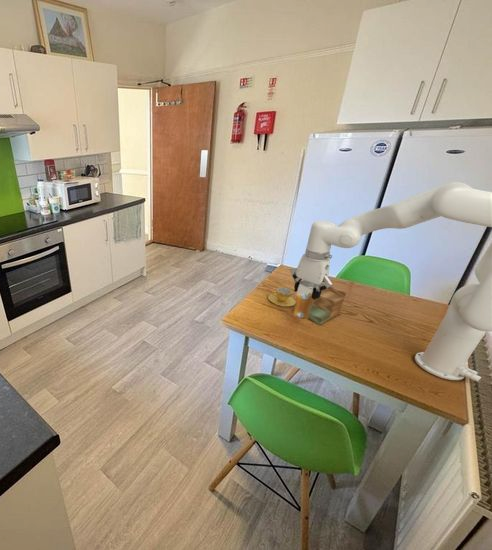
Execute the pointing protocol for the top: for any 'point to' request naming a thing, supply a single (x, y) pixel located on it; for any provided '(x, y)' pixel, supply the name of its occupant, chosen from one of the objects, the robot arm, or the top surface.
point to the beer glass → (304, 299)
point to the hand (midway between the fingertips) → (306, 294)
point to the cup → (282, 297)
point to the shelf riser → (326, 305)
